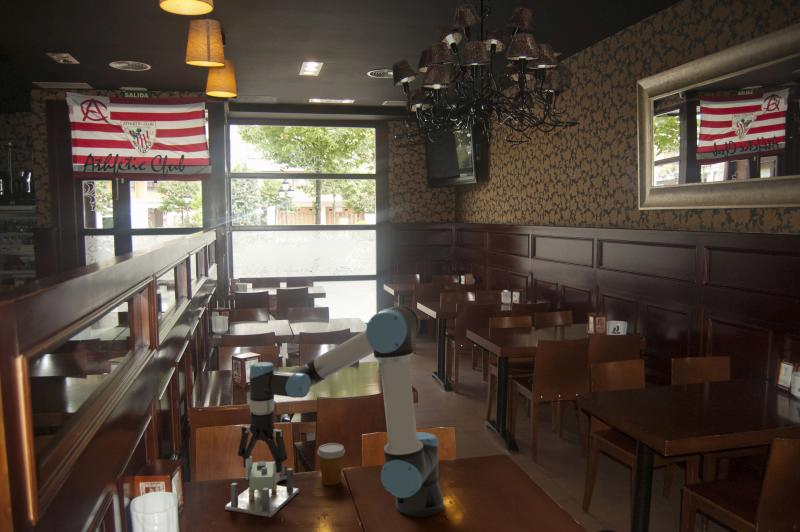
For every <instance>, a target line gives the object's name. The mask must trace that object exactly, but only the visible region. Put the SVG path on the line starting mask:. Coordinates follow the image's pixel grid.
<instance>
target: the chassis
mask: <svg viewBox="0 0 800 532" xmlns="http://www.w3.org/2000/svg"><path fill="white" fill-rule="evenodd" d="M286 473H287V479H286V486H284V485H283V486H282V485H278V482H277V483H276V484H274V483H273V489H269V488H265V487H264V488H263V489H262V490H249V487H248V488H247V489H245V490H244V491H243V492H241V493H240V494H239V483H238V482H232V483H231V484H230V502H228V503H227V504H225V507H224V508H225V510H227V511H232V512H233V511H234V512H239V513H245V514H251V515H256V516H261V517H262V516H263V517H267V516H268V517H269V518H272V517H273V516H275V514H276V513H277V512H278V511H280V508H281V507H282V508H283V507H284V506H285V505H287V503H288V502H290V501H291V500H292V499H293V498H294V496H296V495H297V494H298V493H299V488H297V487H294V468H292V467H287V470H286ZM283 505H284V506H283ZM282 508H281V509H282Z"/></svg>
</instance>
